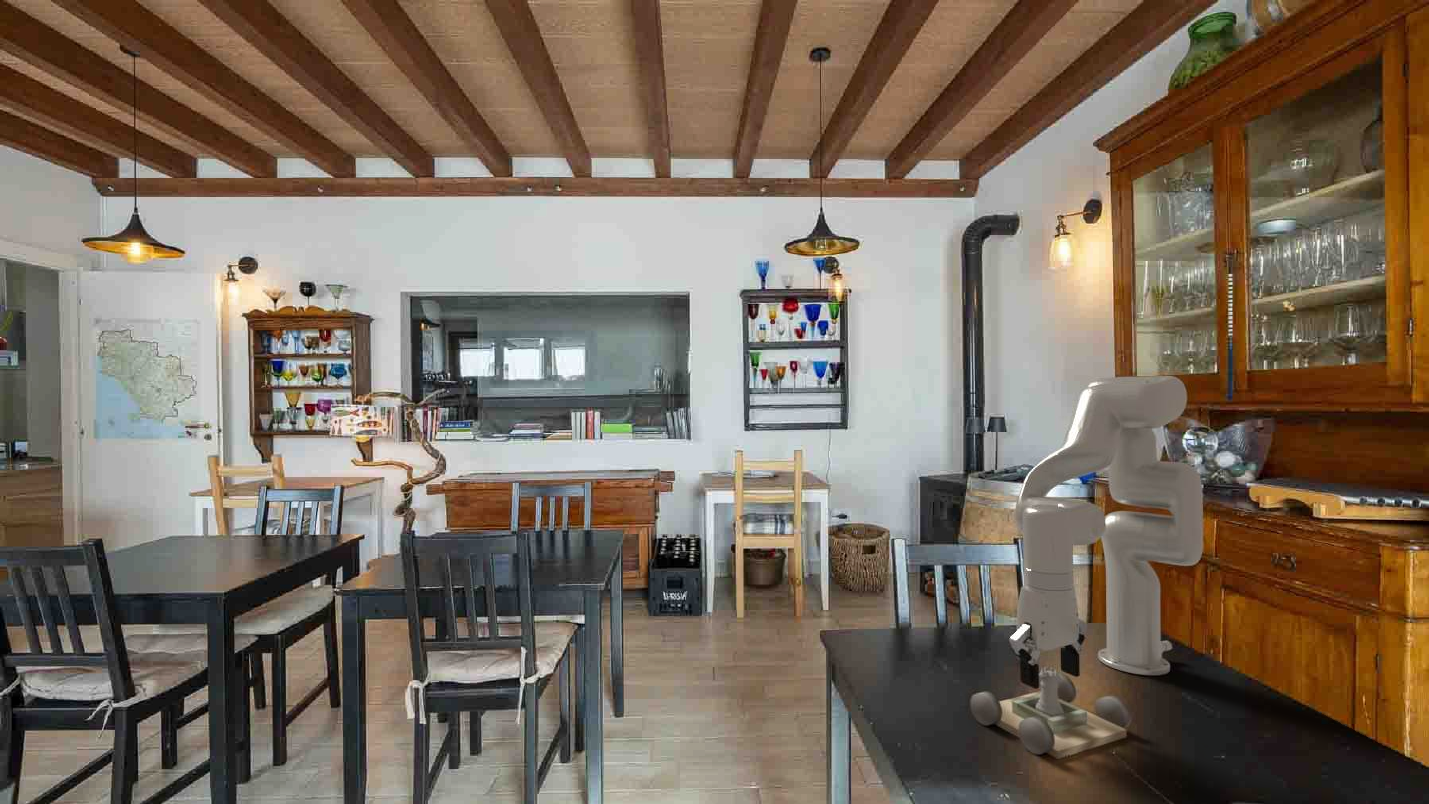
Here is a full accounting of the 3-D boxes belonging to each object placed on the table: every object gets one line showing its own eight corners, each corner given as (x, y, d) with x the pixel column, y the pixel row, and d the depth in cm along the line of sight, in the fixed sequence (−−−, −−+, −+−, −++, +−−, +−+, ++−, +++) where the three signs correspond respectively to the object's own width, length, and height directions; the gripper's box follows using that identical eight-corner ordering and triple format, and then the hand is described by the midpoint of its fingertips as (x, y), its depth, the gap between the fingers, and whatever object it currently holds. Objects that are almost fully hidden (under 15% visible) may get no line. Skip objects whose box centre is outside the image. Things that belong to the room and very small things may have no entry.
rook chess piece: (1068, 725, 108) (1068, 676, 108) (1039, 722, 109) (1039, 674, 109) (1059, 712, 113) (1059, 666, 113) (1031, 710, 114) (1031, 664, 114)
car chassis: (1049, 695, 122) (1049, 668, 122) (1134, 734, 108) (1134, 703, 108) (968, 716, 114) (968, 687, 114) (1048, 762, 99) (1048, 729, 99)
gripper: (1064, 567, 118) (1065, 661, 118) (993, 580, 111) (995, 681, 111) (1103, 577, 111) (1105, 677, 111) (1030, 592, 104) (1032, 699, 104)
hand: (1050, 679), depth 111 cm, fingers open, 9 cm apart
